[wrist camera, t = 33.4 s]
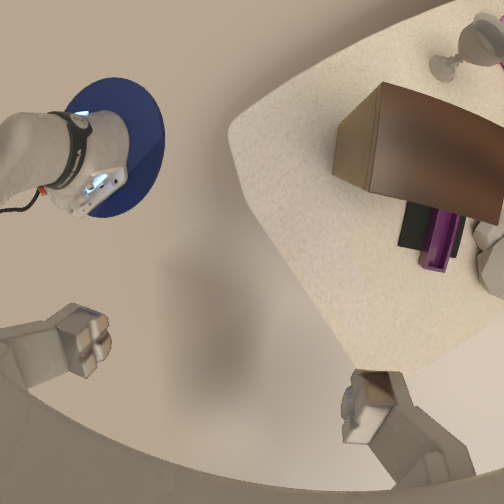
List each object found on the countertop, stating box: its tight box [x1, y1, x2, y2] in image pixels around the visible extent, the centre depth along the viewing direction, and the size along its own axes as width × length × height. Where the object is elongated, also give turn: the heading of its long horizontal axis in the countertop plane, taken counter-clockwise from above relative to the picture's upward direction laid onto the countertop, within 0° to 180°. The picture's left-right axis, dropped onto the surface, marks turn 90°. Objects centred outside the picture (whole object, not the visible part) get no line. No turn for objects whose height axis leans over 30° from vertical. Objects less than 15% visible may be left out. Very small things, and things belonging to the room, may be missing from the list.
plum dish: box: [419, 207, 460, 273], centre depth 39 cm, size 22×4×3 cm, turn 172°
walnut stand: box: [332, 82, 504, 226], centre depth 29 cm, size 8×12×26 cm, turn 83°
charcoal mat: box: [398, 201, 466, 258], centre depth 40 cm, size 22×12×1 cm, turn 173°
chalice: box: [429, 12, 504, 82], centre depth 26 cm, size 7×7×18 cm
